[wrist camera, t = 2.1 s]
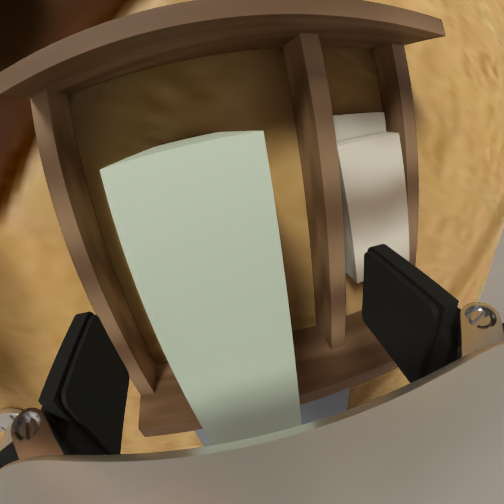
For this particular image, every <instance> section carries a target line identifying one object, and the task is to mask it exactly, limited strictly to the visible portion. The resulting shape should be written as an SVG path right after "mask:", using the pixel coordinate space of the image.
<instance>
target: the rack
mask: <svg viewBox="0 0 504 504" xmlns="http://www.w3.org/2000/svg"><path fill="white" fill-rule="evenodd" d="M443 36H446V35H445V31H444V27H443V23H442V20H441V19H438V18H435V17H432V16H429V15H425V14H422V13H418V12H415V11H411V10H407V9H403V8H399V7H394V6H390V5H385V4H380V3H375V2H369V1H363V0H195V1H188V2H183V3H177V4H172V5H167V6H163V7H158V8H154V9H150V10H146V11H142V12H138V13H134V14H131V15H127V16H124V17H121V18H117V19H114V20H111V21H108V22H105V23H102V24H99V25H97V26H94V27H91V28H89V29H86V30H83V31H81V32H78V33H76V34H73V35H71V36H69V37H66V38H64V39H62V40H60V41H57V42H55V43H53V44H51V45H49V46H47V47H45V48H43V49H41V50H39V51H37V52H35V53H33V54H31V55H29V56H27V57H25V58H24V59H22V60H20V61H18V62H16V63H15V64H13V65H11V66H10V67H8V68H6V69H5V70H3V71H1V72H0V94H1V95H10V96H18V97H26V98H30V100H31V107H32V114H33V120H34V126H35V132H36V137H37V142H38V147H39V152H40V157H41V161H42V165H43V169H44V173H45V177H46V181H47V185H48V189H49V192H50V196H51V199H52V203H53V206H54V209H55V213H56V216H57V219H58V222H59V225H60V228H61V231H62V234H63V237H64V239H65V242H66V245H67V248H68V250H69V253H70V256H71V258H72V261H73V263H74V266H75V268H76V271H77V273H78V276H79V278H80V281H81V283H82V285H83V288H84V290H85V292H86V294H87V297H88V299H89V301H90V303H91V305H92V308H93V310H94V312H95V314H96V315H97V316H98V317H99V318H100V320H101V322H102V324H103V326H104V328H105V330H106V332H107V334H108V336H109V338H110V340H111V341H112V343H113V345H114V347H115V349H116V351H117V352H118V354H119V356H120V358H121V359H122V361H123V363H124V365H125V366H126V368H127V370H128V373H129V377H130V379H131V380H132V382H133V384H134V385H135V387H136V388H137V390H138V392H139V393H140V395H141V400H140V413H139V430H140V431H141V433H142V434H143V435H144V436H145V437H149V436H158V435H166V434H173V433H180V432H187V431H193V430H199V429H203V428H202V426H201V424H200V423H199V421H198V419H197V417H196V415H195V414H194V412H193V410H192V408H191V406H190V404H189V402H188V400H187V399H186V397H185V395H184V393H183V391H182V389H181V387H180V385H179V383H178V381H177V379H176V377H175V375H174V373H173V371H172V369H171V367H170V365H169V362H168V363H163V364H157V365H156V364H155V362H154V360H153V358H152V356H151V354H150V352H149V350H148V348H147V346H146V344H145V342H144V340H143V337H142V335H141V333H140V331H139V329H138V327H137V324H136V322H135V320H134V318H133V315H132V313H131V311H130V308H129V306H128V304H127V301H126V299H125V296H124V294H123V292H122V289H121V287H120V284H119V282H118V279H117V276H116V274H115V271H114V268H113V266H112V263H111V260H110V258H109V255H108V252H107V249H106V246H105V243H104V240H103V237H102V234H101V231H100V228H99V225H98V222H97V219H96V216H95V212H94V209H93V206H92V202H91V199H90V195H89V192H88V188H87V184H86V180H85V177H84V173H83V169H82V165H81V160H80V156H79V152H78V147H77V143H76V138H75V133H74V128H73V122H72V117H71V111H70V105H69V99H68V95H70V94H73V93H75V92H78V91H80V90H83V89H85V88H88V87H91V86H93V85H96V84H99V83H102V82H105V81H108V80H111V79H114V78H117V77H120V76H123V75H127V74H130V73H133V72H137V71H140V70H144V69H148V68H152V67H155V66H160V65H164V64H168V63H172V62H177V61H182V60H186V59H192V58H197V57H202V56H208V55H215V54H221V53H228V52H236V51H245V50H254V49H266V48H282V50H283V55H284V60H285V66H286V71H287V76H288V82H289V88H290V93H291V99H292V105H293V112H294V118H295V124H296V131H297V138H298V144H299V151H300V159H301V166H302V174H303V182H304V190H305V198H306V207H307V216H308V226H309V236H310V246H311V257H312V269H313V282H314V296H315V311H316V326H313V327H310V328H306V329H303V330H300V331H296V332H293V333H292V337H293V345H294V354H295V363H296V373H297V382H298V392H299V402H300V405H302V404H305V403H308V402H311V401H314V400H317V399H320V398H323V397H326V396H329V395H331V394H334V393H337V392H340V391H342V390H345V389H348V388H350V387H353V386H355V385H358V384H360V383H363V382H365V381H368V380H370V379H372V378H375V377H377V376H379V375H382V374H384V373H386V372H389V371H391V370H393V369H395V368H397V367H398V366H397V364H396V363H395V362H394V361H393V359H392V358H391V357H390V355H389V354H388V353H387V351H386V350H385V349H384V347H383V346H382V345H381V344H380V342H379V341H378V340H377V338H376V337H375V336H374V335H373V333H372V332H371V331H370V329H369V328H368V327H367V326H366V324H365V323H364V321H363V318H362V311H359V312H356V313H353V314H350V315H347V316H346V279H345V244H344V223H343V207H342V194H341V182H340V171H339V161H338V152H337V143H336V135H335V127H334V120H333V112H332V106H331V99H330V93H329V87H328V81H327V75H326V70H325V64H324V59H323V54H322V49H321V47H349V48H364V49H373V53H374V58H375V63H376V68H377V74H378V80H379V86H380V93H381V100H382V108H383V112H384V116H385V124H386V132H394V133H399V137H400V143H401V150H402V157H403V165H404V174H405V183H406V194H407V207H408V224H409V262H410V263H411V264H413V265H414V266H415V262H416V250H417V234H418V206H419V179H418V151H417V136H416V124H415V114H414V105H413V97H412V90H411V83H410V76H409V70H408V65H407V59H406V54H405V49H404V45H407V44H411V43H415V42H419V41H424V40H428V39H433V38H438V37H443Z"/></svg>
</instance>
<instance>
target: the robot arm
mask: <svg viewBox="0 0 504 504" xmlns="http://www.w3.org/2000/svg"><path fill="white" fill-rule="evenodd" d="M458 302H459V301H458V300H457V299H456V298H454V297H453V296H452V295H451V294H450V293H448V292H447V291H446V290H445V289H443V288H442V287H441V286H440V285H438V284H437V283H436V282H435V281H433V280H432V279H431V278H430V277H428V276H427V275H426V274H424V273H423V272H422V271H421V270H419V269H418V268H417V267H415V266H414V265H413V264H411V263H410V262H409V261H407V260H406V259H405V258H403V257H402V256H401V255H399V254H398V253H397V252H395V251H394V250H392V249H391V248H390V247H388V246H387V245H385V244H380V245H376V246H372V247H369V248H368V251H367V252H366V253H365V254H364V278H363V304H362V318H363V321H364V323H365V324H366V326H367V327H368V328H369V329H370V331H371V332H372V333H373V335H374V336H375V337H376V338H377V340H378V341H379V342H380V344H381V345H382V346H383V347H384V349H385V350H386V351H387V353H388V354H389V355H390V357H391V358H392V359H393V361H394V362H395V363H396V364H397V366H398V367H399V368H400V370H401V371H402V372H403V374H404V375H405V376H406V378H407V379H408V380H409V382H410V384H408V385H406V386H404V387H402V388H399V389H397V390H395V391H393V392H390V393H388V394H386V395H384V396H381V397H379V398H376V399H374V400H372V401H369V402H367V403H364V404H362V405H359V406H356V407H354V408H351V409H348V410H346V411H343V412H340V413H337V414H334V415H331V416H328V417H325V418H322V419H319V420H316V421H313V422H310V423H307V424H303V425H300V426H296V427H293V428H289V429H286V430H282V431H278V432H274V433H270V434H266V435H262V436H258V437H253V438H249V439H244V440H239V441H234V442H229V443H224V444H218V445H212V446H206V447H199V448H192V449H184V450H176V451H166V452H155V453H141V454H120V451H121V440H122V431H123V422H124V414H125V406H126V399H127V392H128V385H129V373H128V370H127V368H126V366H125V365H124V363H123V361H122V359H121V358H120V356H119V354H118V352H117V351H116V349H115V347H114V345H113V343H112V341H111V340H110V338H109V336H108V334H107V332H106V330H105V328H104V326H103V324H102V322H101V320H100V318H99V317H98V316H97V315H94V314H93V313H92V312H86V313H81V314H77V315H75V317H74V319H73V321H72V323H71V325H70V327H69V329H68V332H67V334H66V336H65V338H64V340H63V342H62V345H61V347H60V349H59V351H58V354H57V356H56V358H55V360H54V363H53V365H52V368H51V370H50V372H49V375H48V377H47V380H46V382H45V385H44V388H43V390H42V393H41V395H40V398H39V402H40V404H41V405H42V408H41V410H39V409H37V408H28V409H25V410H24V411H23V410H19V409H13V408H8V409H4V410H2V411H1V412H0V429H1V430H2V432H3V433H4V435H3V438H2V441H1V444H0V504H504V323H502V322H501V318H500V315H499V313H498V312H497V311H496V310H495V309H494V308H493V307H491V306H490V305H487V304H485V303H480V302H472V303H468V304H466V305H465V306H463V308H462V309H461V310H460V309H459V308H458V307H457V306H458Z"/></svg>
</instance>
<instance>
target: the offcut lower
mask: <svg viewBox="0 0 504 504" xmlns="http://www.w3.org/2000/svg"><path fill="white" fill-rule="evenodd" d="M333 120H334V127H335V135H336V141H339V140H343V139H348V138H352V137H357V136H362V135H366V134H371V133H376V132H381V131H384V132H386V124H385V116H384V112H369V113H354V114H342V115H333ZM345 274H346V272H345Z"/></svg>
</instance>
